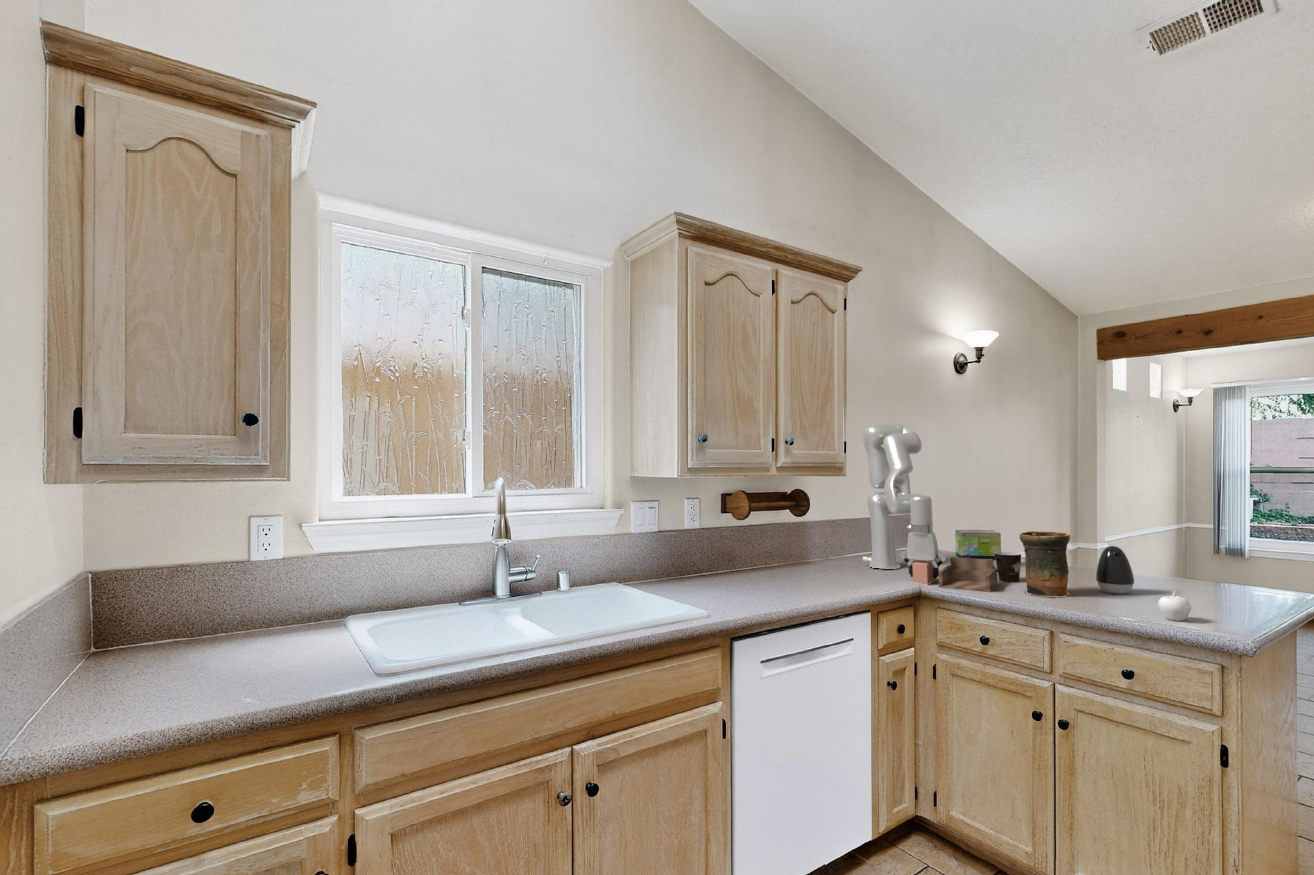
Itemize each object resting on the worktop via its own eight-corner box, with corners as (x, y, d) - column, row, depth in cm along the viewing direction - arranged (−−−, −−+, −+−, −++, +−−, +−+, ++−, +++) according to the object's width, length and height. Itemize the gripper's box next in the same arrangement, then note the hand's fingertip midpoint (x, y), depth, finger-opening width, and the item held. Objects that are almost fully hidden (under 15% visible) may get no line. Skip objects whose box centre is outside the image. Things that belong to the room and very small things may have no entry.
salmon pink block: (913, 583, 231) (912, 563, 231) (920, 579, 239) (919, 559, 239) (927, 585, 228) (926, 564, 228) (934, 580, 236) (933, 560, 236)
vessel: (1085, 596, 202) (1080, 534, 203) (1043, 599, 201) (1038, 536, 202) (1054, 588, 217) (1049, 529, 217) (1014, 591, 216) (1010, 532, 216)
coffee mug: (1016, 578, 235) (1014, 551, 236) (1027, 582, 227) (1025, 554, 227) (983, 578, 236) (982, 551, 237) (993, 583, 228) (991, 555, 228)
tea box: (963, 568, 259) (961, 532, 260) (955, 564, 269) (954, 529, 270) (1002, 568, 257) (1000, 531, 258) (993, 564, 267) (992, 529, 267)
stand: (939, 587, 223) (938, 562, 224) (949, 580, 235) (948, 557, 235) (989, 591, 214) (988, 566, 214) (997, 584, 225) (996, 560, 226)
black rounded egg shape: (1102, 595, 205) (1099, 547, 205) (1092, 588, 214) (1090, 543, 215) (1140, 596, 201) (1137, 548, 202) (1128, 590, 211) (1126, 544, 211)
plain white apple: (1164, 621, 171) (1163, 592, 171) (1154, 615, 178) (1153, 587, 178) (1196, 623, 168) (1195, 593, 169) (1185, 617, 175) (1183, 588, 175)
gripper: (894, 529, 236) (896, 576, 236) (944, 531, 226) (946, 581, 225) (900, 527, 242) (902, 573, 242) (949, 529, 232) (951, 577, 231)
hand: (923, 576), depth 233 cm, fingers open, 7 cm apart
